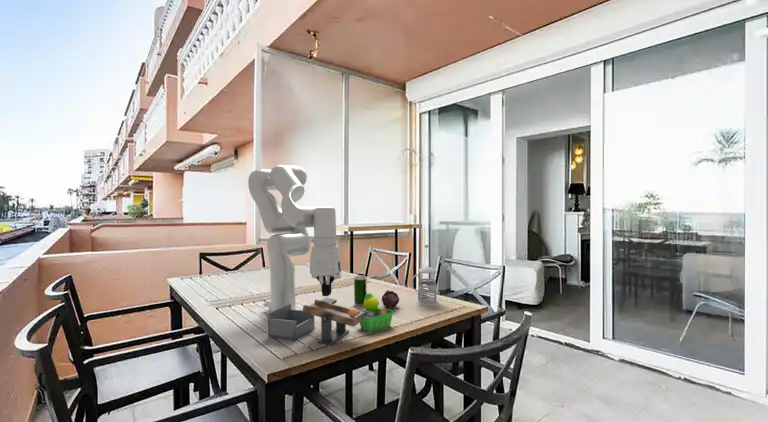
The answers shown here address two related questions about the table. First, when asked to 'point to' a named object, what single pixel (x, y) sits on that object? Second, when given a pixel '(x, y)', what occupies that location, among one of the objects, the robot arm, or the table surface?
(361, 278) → the beer can
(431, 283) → the french press
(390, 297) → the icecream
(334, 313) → the lever
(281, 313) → the bin
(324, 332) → the lever stand
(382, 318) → the fruit basket
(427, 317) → the table surface
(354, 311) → the ball
